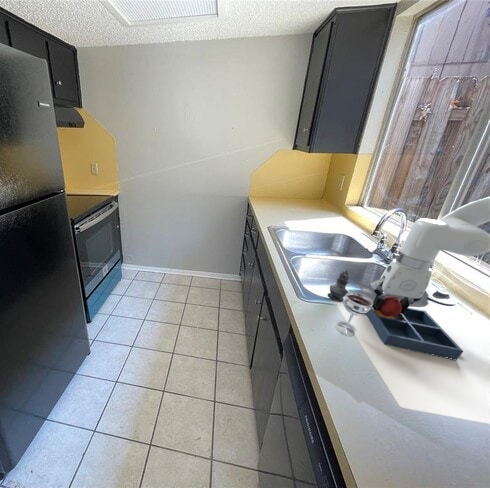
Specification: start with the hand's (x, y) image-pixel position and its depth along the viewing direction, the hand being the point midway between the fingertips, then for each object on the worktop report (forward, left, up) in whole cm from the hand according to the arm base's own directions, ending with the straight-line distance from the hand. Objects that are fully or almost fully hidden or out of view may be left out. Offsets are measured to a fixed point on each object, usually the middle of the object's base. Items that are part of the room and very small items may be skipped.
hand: (388, 308), depth 83 cm
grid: (-4, +4, -4) cm, 7 cm away
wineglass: (+14, +10, -5) cm, 18 cm away
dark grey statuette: (+12, -8, -5) cm, 15 cm away
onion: (0, 0, -3) cm, 3 cm away
